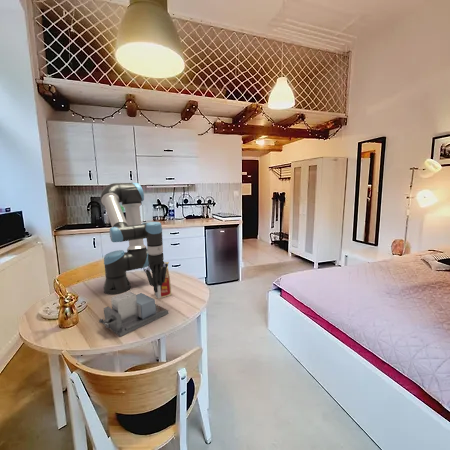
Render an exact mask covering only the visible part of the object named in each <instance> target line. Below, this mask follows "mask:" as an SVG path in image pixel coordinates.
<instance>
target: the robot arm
mask: <svg viewBox="0 0 450 450" xmlns="http://www.w3.org/2000/svg"><path fill="white" fill-rule="evenodd" d="M144 200H145V194H144V190H143V188H142V186H141V184H140V183H139V182H120V183H119V182H114V183H110V184H108V185H107V186H105V187H104V188H103V190H102V191H101V194H100V202H101V204H102V205H103V207H104V208H105V210H106V213H107V216H108V220H109V223H110V225H111V227H110V228H109V238H110V241H111V242H112V243H123V242H128V247H127V249H126V251H124V250H123V249H119V250H114V251H110V252H108V253H106V254H105V255H104V256H103V265H104V272H105V273H104V274H105V275H104V276H105V281H104V285H103V292H104V294H107V295H120V294H123V293H125V292H128V290H129V291H130V289H131V282H130V281H129V279H128V276H127V272H129V271H133V270H139V269H141V270H142V269H143V271H144V272H145V275H146V277H147V280H148V283H149V285H150V286H151V287H153V292H154V295H155V298H158V299H162V298H161V290H162V286H161V285H163V284H162V283H164V282H165V276H166V270H167V267H168V268H169V263H168V264H166V263H164V262H165V261H164V253H163V252H164V244H163V243H164V242H163V227H162V223H161V222H159V221H150V222H142V217H141V208H140V207H141V205H142V202H143V201H144ZM120 203H121V205H120ZM122 207H123V208H124V210H125V211H123V210H122ZM124 212H125V214H124ZM144 239H146V245H145V244H144Z"/></svg>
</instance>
